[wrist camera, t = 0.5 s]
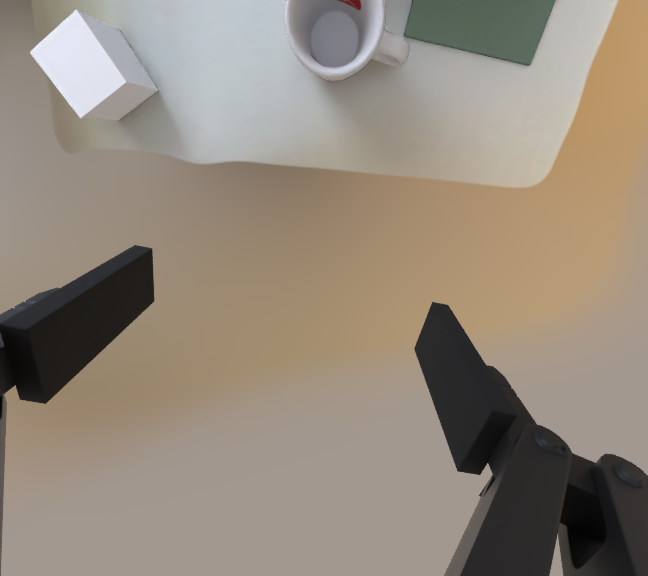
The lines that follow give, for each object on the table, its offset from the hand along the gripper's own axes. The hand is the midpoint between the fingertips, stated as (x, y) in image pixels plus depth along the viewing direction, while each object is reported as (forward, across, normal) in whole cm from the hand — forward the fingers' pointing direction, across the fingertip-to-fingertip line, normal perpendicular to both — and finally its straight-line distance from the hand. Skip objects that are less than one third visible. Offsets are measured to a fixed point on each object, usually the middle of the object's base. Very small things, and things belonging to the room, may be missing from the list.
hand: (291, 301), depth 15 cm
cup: (+27, 0, +15) cm, 31 cm away
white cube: (+27, -23, +8) cm, 36 cm away
